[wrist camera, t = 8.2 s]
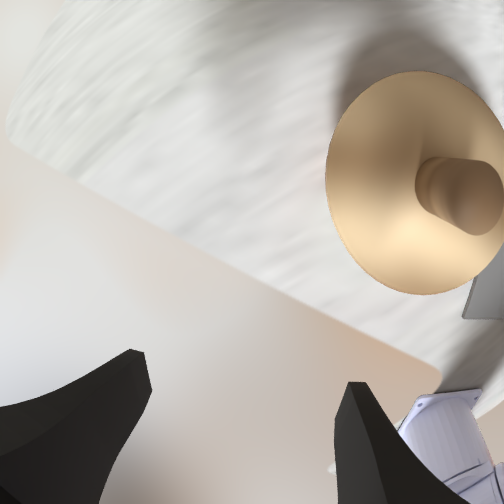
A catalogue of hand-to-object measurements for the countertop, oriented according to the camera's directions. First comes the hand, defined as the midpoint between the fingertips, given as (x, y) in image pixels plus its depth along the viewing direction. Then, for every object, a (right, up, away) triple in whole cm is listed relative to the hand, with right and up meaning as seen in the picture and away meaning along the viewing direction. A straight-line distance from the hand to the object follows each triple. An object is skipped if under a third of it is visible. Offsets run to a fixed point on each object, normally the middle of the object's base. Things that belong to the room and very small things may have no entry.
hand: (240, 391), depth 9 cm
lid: (+9, +8, +3) cm, 13 cm away
